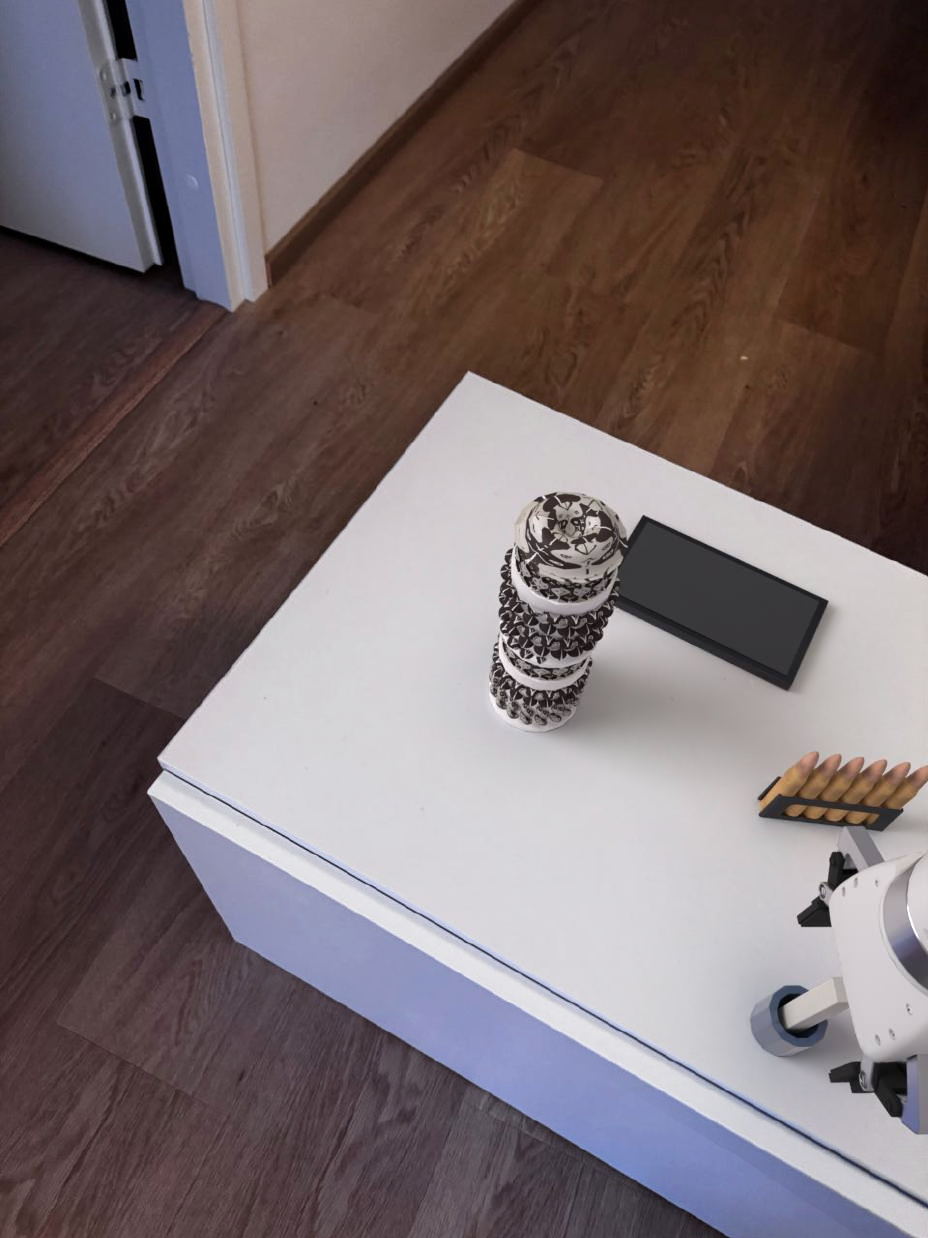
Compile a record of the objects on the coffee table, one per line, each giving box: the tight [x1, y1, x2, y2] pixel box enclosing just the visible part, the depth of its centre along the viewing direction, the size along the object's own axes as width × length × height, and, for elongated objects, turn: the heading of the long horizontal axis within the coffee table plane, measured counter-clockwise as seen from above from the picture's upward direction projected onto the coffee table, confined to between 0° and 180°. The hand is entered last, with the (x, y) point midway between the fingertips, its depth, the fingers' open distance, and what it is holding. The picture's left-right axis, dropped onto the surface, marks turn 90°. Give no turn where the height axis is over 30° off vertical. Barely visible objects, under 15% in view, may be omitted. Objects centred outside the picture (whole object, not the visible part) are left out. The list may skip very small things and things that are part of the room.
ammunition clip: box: [757, 750, 928, 832], centre depth 79 cm, size 11×2×12 cm, turn 84°
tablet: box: [606, 514, 830, 692], centre depth 95 cm, size 20×11×1 cm, turn 60°
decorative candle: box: [488, 491, 628, 733], centre depth 78 cm, size 9×9×25 cm
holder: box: [749, 984, 829, 1057], centre depth 72 cm, size 4×4×5 cm
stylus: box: [777, 976, 850, 1035], centre depth 68 cm, size 2×2×14 cm
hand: (834, 996), depth 64 cm, fingers open, 9 cm apart
